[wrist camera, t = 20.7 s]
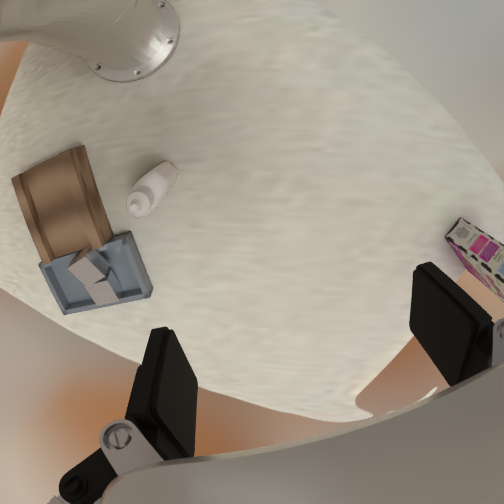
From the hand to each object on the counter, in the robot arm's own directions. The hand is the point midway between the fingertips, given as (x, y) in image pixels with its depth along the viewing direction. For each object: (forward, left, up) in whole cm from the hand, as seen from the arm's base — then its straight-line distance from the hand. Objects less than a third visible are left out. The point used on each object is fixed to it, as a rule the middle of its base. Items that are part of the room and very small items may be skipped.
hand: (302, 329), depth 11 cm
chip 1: (+5, -23, -28) cm, 37 cm away
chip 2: (+10, -23, -27) cm, 37 cm away
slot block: (-4, -25, -30) cm, 39 cm away
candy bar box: (+19, +35, -31) cm, 50 cm away
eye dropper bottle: (-2, -11, -31) cm, 32 cm away
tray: (+8, -25, -30) cm, 40 cm away
